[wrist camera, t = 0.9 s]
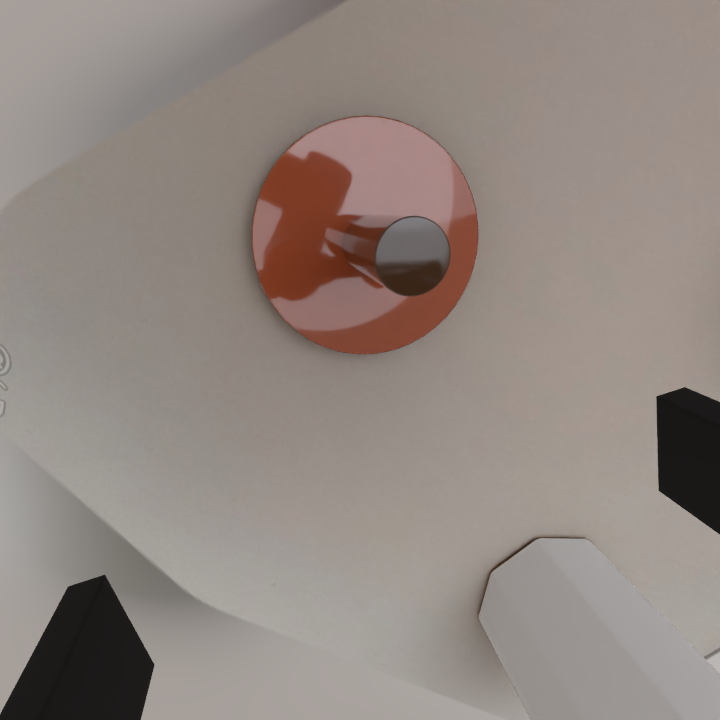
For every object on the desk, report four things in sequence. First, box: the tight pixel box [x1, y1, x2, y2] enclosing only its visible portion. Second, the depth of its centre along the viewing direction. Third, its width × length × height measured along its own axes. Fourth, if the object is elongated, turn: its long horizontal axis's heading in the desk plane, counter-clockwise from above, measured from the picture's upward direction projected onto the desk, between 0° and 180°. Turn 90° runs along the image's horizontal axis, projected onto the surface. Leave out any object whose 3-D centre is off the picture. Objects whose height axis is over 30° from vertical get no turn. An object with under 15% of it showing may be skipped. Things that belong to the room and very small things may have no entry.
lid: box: [252, 116, 478, 354], centre depth 22 cm, size 12×12×9 cm
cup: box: [479, 538, 720, 720], centre depth 28 cm, size 11×11×18 cm
